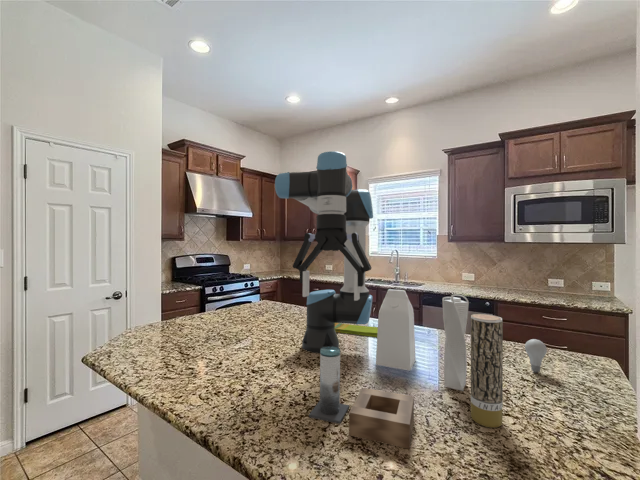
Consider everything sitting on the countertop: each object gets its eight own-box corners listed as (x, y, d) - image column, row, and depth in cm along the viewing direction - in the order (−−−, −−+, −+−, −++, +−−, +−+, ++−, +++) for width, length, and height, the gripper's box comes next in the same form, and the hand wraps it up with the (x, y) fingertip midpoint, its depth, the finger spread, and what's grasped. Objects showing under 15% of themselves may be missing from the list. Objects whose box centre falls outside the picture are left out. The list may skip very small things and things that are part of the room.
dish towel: (326, 323, 169) (326, 317, 169) (393, 331, 155) (393, 325, 155) (314, 331, 155) (315, 324, 155) (387, 340, 141) (387, 333, 141)
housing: (348, 435, 69) (348, 412, 69) (361, 406, 82) (361, 387, 82) (409, 448, 65) (409, 424, 65) (413, 416, 77) (413, 396, 77)
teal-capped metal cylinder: (316, 412, 77) (317, 351, 78) (323, 403, 82) (324, 345, 82) (336, 416, 76) (336, 354, 76) (342, 406, 80) (342, 347, 81)
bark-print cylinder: (465, 413, 79) (465, 314, 79) (490, 413, 79) (490, 313, 80) (481, 429, 72) (481, 320, 72) (509, 428, 72) (509, 320, 73)
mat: (308, 417, 76) (308, 414, 76) (320, 401, 84) (320, 399, 84) (340, 423, 74) (340, 421, 74) (349, 407, 81) (349, 405, 81)
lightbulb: (543, 370, 107) (543, 337, 107) (549, 377, 101) (549, 343, 101) (522, 367, 109) (522, 336, 109) (527, 374, 103) (527, 341, 103)
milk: (415, 359, 116) (415, 289, 116) (410, 370, 105) (410, 293, 106) (383, 354, 121) (383, 287, 121) (375, 364, 111) (376, 291, 111)
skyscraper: (466, 394, 89) (467, 295, 89) (439, 387, 93) (439, 293, 93) (470, 383, 96) (470, 292, 96) (444, 378, 100) (444, 290, 100)
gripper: (280, 214, 80) (279, 296, 80) (377, 211, 72) (377, 304, 71) (293, 216, 87) (292, 292, 87) (383, 214, 79) (382, 298, 78)
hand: (330, 298), depth 79 cm, fingers open, 13 cm apart
